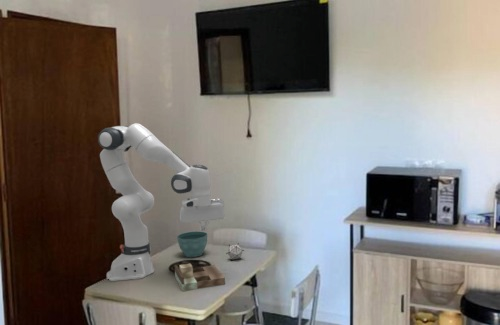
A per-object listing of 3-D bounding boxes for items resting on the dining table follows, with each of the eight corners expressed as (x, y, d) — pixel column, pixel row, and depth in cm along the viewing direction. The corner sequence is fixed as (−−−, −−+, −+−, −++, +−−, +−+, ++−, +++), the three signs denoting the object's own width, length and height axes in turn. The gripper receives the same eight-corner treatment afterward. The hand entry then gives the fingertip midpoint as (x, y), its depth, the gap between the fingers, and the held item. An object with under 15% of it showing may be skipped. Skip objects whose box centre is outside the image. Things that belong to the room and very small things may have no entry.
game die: (238, 267, 256) (241, 255, 249) (222, 261, 257) (225, 249, 250) (244, 254, 262) (247, 242, 256) (229, 248, 264) (231, 236, 257)
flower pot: (174, 253, 272) (173, 234, 271) (202, 248, 279) (201, 229, 278) (183, 261, 258) (182, 241, 257) (213, 256, 264) (211, 235, 263)
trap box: (182, 291, 217) (181, 277, 216) (175, 277, 235) (174, 264, 234) (225, 284, 222) (224, 271, 222) (214, 271, 240) (214, 259, 240)
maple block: (182, 279, 223) (181, 268, 222) (180, 275, 228) (179, 264, 227) (193, 277, 224) (192, 266, 224) (191, 273, 229) (190, 263, 229)
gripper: (222, 197, 234) (223, 226, 236) (178, 201, 228) (180, 231, 230) (225, 199, 228) (226, 229, 230) (180, 204, 222) (182, 234, 224)
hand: (203, 230), depth 230 cm, fingers closed
